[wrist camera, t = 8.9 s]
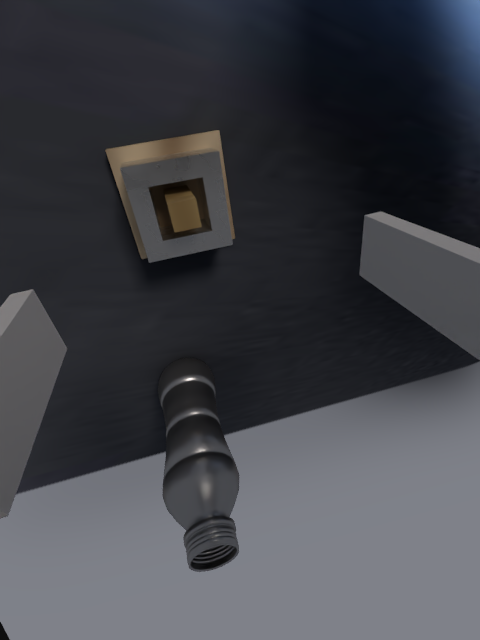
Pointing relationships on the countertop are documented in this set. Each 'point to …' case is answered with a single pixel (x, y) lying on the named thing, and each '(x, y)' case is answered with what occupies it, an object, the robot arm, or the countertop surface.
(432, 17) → the countertop surface
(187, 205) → the tan square plate
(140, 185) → the grey square frame
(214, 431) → the plastic bottle
